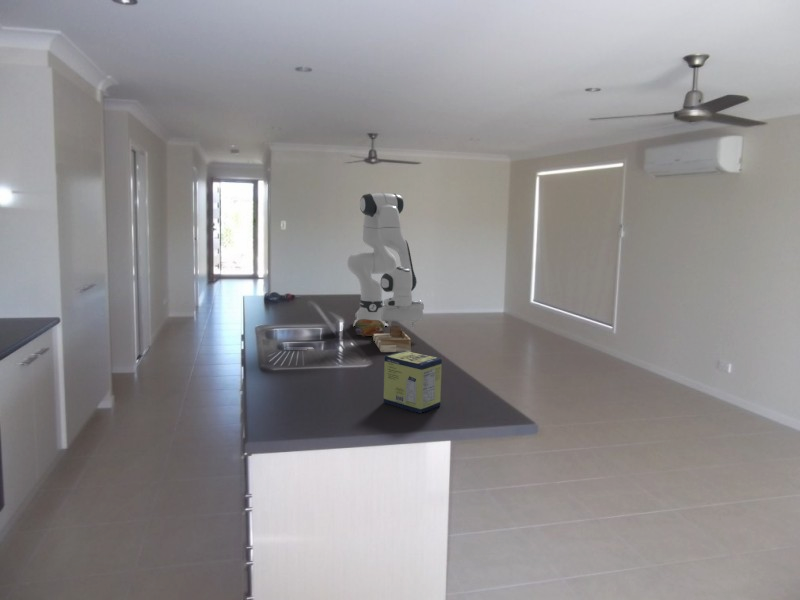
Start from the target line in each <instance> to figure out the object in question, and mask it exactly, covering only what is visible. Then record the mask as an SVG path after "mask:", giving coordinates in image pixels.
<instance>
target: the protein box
mask: <svg viewBox="0 0 800 600" xmlns="http://www.w3.org/2000/svg"><path fill="white" fill-rule="evenodd" d="M442 363H443V359H442V358H440V357H436V356H432V355H431V356H430V355H425V354H420V353H416V352H412V351H411V352H409V351H402V352H393V353H391V354H387V355H384V363H383V365H384V367H383V368H384V369H383V370H384V371H383V402H384V404H386V403H387V404H388V405H389V404H391V405H390V406H393V405H394V406H393V407H396V406H397V407H396V408H399V407H401V408H400V409H403V408H404V409H403V410H406V409H408V410H407V411H409V410H411V411H410V412H413V411H415V412H414V413H416V412H418V413H417V414H419V413H421V414H423V413H422V412H424V413H426V412H428V410H429V411H431V410H433V408H434V409H436V408H439V407H441V393H442V392H441V391H442V390H441V389H442V388H441V387H442V365H443V364H442ZM387 404H386V405H387ZM438 406H439V407H438ZM435 407H436V408H435ZM430 409H431V410H430ZM425 411H426V412H425Z"/></svg>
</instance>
